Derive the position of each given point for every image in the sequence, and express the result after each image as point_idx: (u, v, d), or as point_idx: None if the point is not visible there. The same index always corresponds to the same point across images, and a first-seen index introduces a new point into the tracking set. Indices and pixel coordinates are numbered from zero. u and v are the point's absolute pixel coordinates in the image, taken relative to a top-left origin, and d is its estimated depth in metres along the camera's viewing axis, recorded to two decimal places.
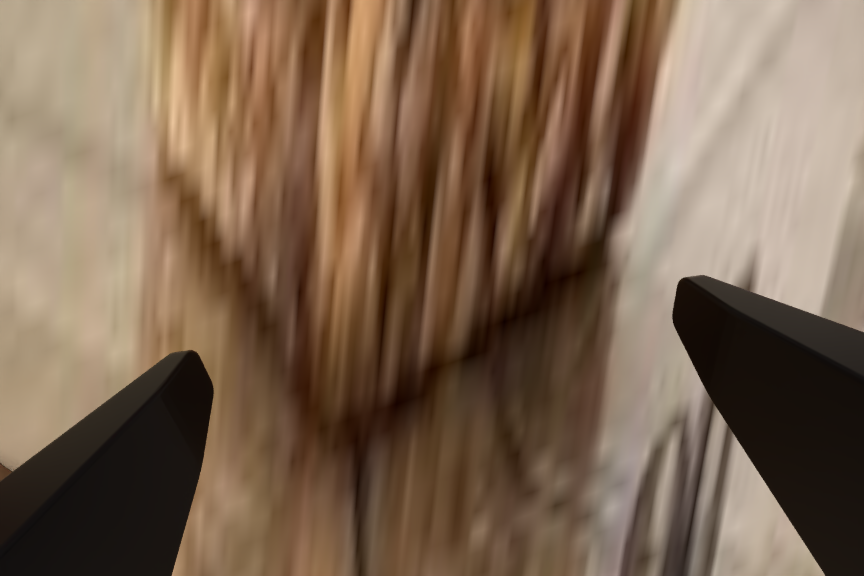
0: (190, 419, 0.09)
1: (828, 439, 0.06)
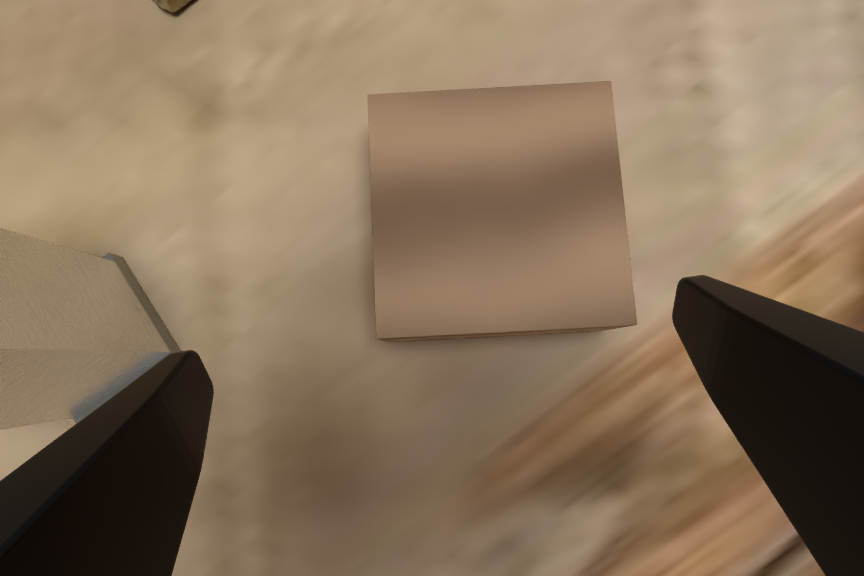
0: (190, 419, 0.09)
1: (828, 439, 0.06)
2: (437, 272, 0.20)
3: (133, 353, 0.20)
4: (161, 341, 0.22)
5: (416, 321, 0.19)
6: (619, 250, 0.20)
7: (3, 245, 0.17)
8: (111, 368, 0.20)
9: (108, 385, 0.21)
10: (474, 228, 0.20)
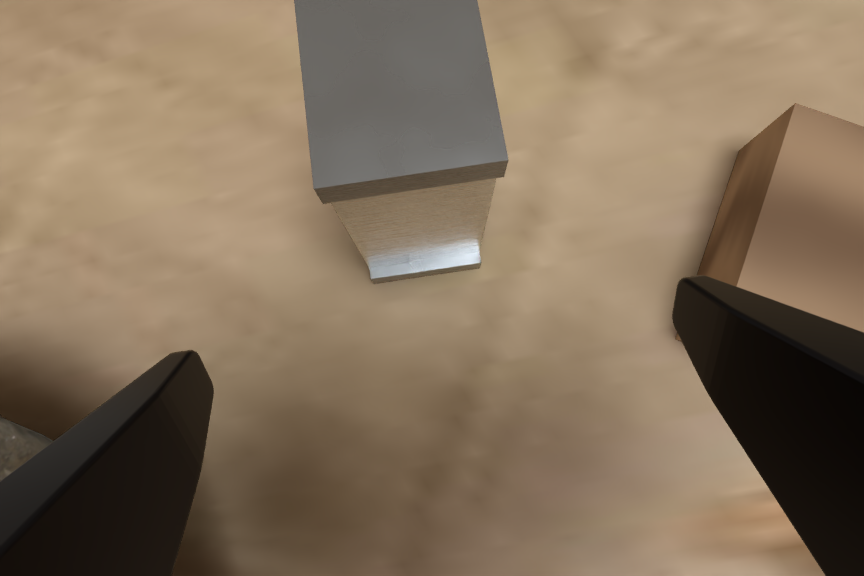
0: (190, 419, 0.09)
1: (828, 439, 0.06)
2: (807, 293, 0.19)
3: (480, 234, 0.20)
4: None
5: None
6: None
7: None
8: (455, 238, 0.20)
9: (423, 254, 0.22)
10: (860, 269, 0.19)
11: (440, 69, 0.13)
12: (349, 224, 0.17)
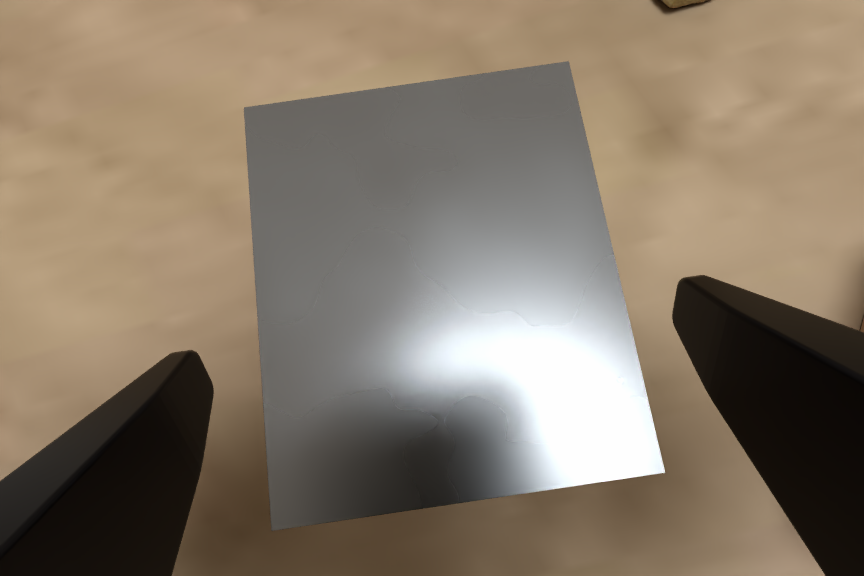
0: (190, 419, 0.09)
1: (828, 439, 0.06)
2: None
3: None
4: None
5: None
6: None
7: None
8: None
9: None
10: None
11: (520, 270, 0.07)
12: None
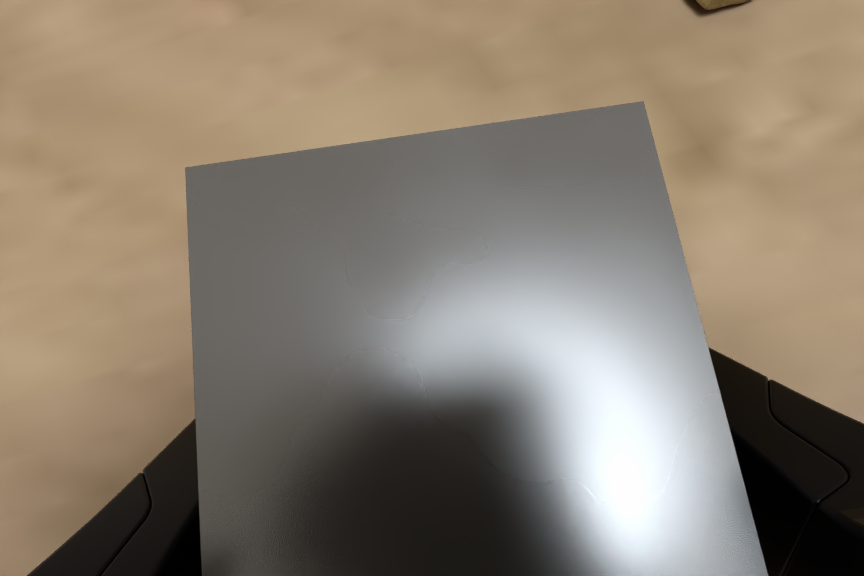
0: None
1: None
2: None
3: None
4: None
5: None
6: None
7: None
8: None
9: None
10: None
11: (583, 415, 0.05)
12: None
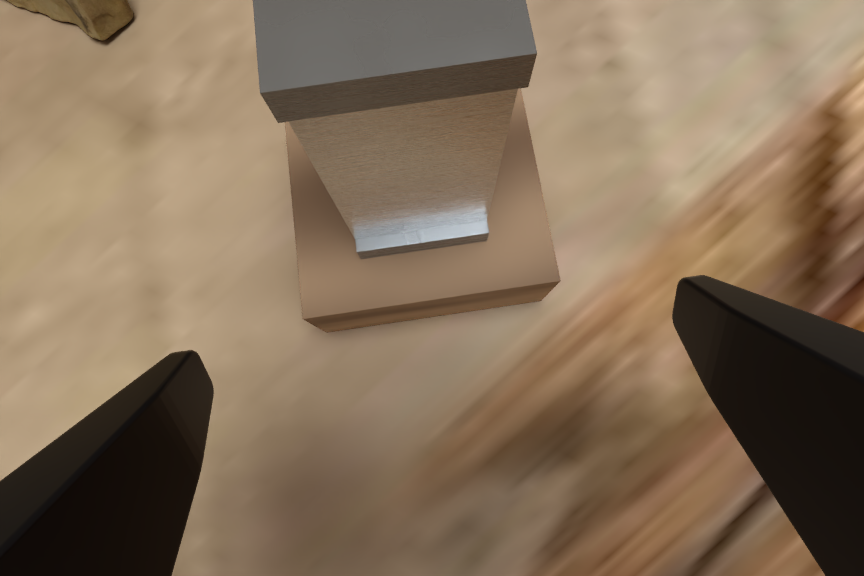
0: (190, 419, 0.09)
1: (828, 439, 0.06)
2: None
3: (489, 194, 0.16)
4: None
5: (342, 298, 0.19)
6: (536, 211, 0.20)
7: None
8: (458, 198, 0.16)
9: (420, 221, 0.18)
10: None
11: None
12: (323, 169, 0.13)
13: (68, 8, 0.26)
